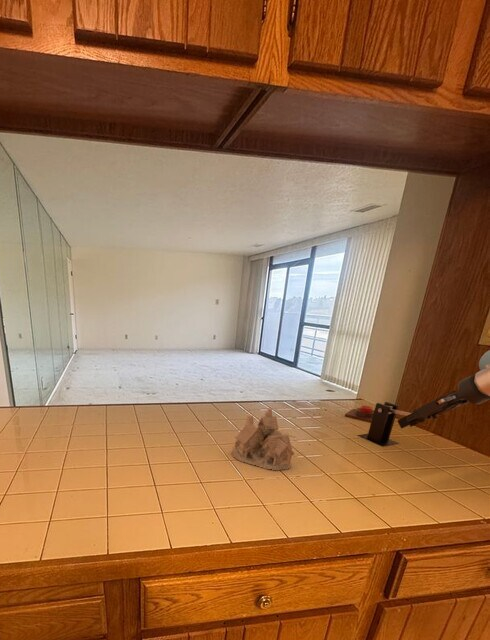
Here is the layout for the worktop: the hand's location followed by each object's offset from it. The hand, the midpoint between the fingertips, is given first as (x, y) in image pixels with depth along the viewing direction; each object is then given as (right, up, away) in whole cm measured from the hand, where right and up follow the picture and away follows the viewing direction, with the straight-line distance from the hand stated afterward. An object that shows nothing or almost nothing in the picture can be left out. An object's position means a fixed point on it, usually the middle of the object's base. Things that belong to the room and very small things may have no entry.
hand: (404, 423), depth 110 cm
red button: (+5, +6, +30) cm, 31 cm away
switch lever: (0, +2, +1) cm, 2 cm away
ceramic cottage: (-47, -11, -4) cm, 49 cm away
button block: (+5, +2, +31) cm, 31 cm away
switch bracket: (-3, -6, +10) cm, 12 cm away
